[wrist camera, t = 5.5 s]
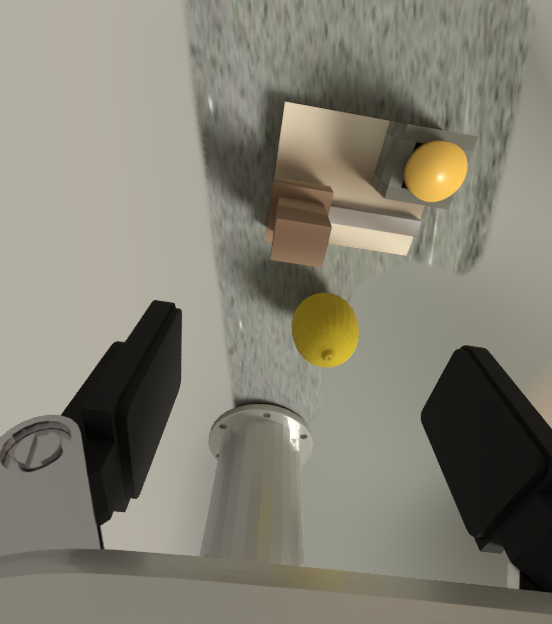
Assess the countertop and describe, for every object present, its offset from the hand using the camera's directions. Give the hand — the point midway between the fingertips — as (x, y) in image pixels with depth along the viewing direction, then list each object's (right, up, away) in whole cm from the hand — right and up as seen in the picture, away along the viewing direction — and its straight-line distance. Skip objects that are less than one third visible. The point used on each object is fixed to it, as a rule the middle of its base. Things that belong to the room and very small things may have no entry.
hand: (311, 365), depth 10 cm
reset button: (+8, +12, +13) cm, 20 cm away
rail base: (+5, +12, +16) cm, 20 cm away
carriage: (0, +9, +15) cm, 18 cm away
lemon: (+3, +2, +22) cm, 22 cm away
